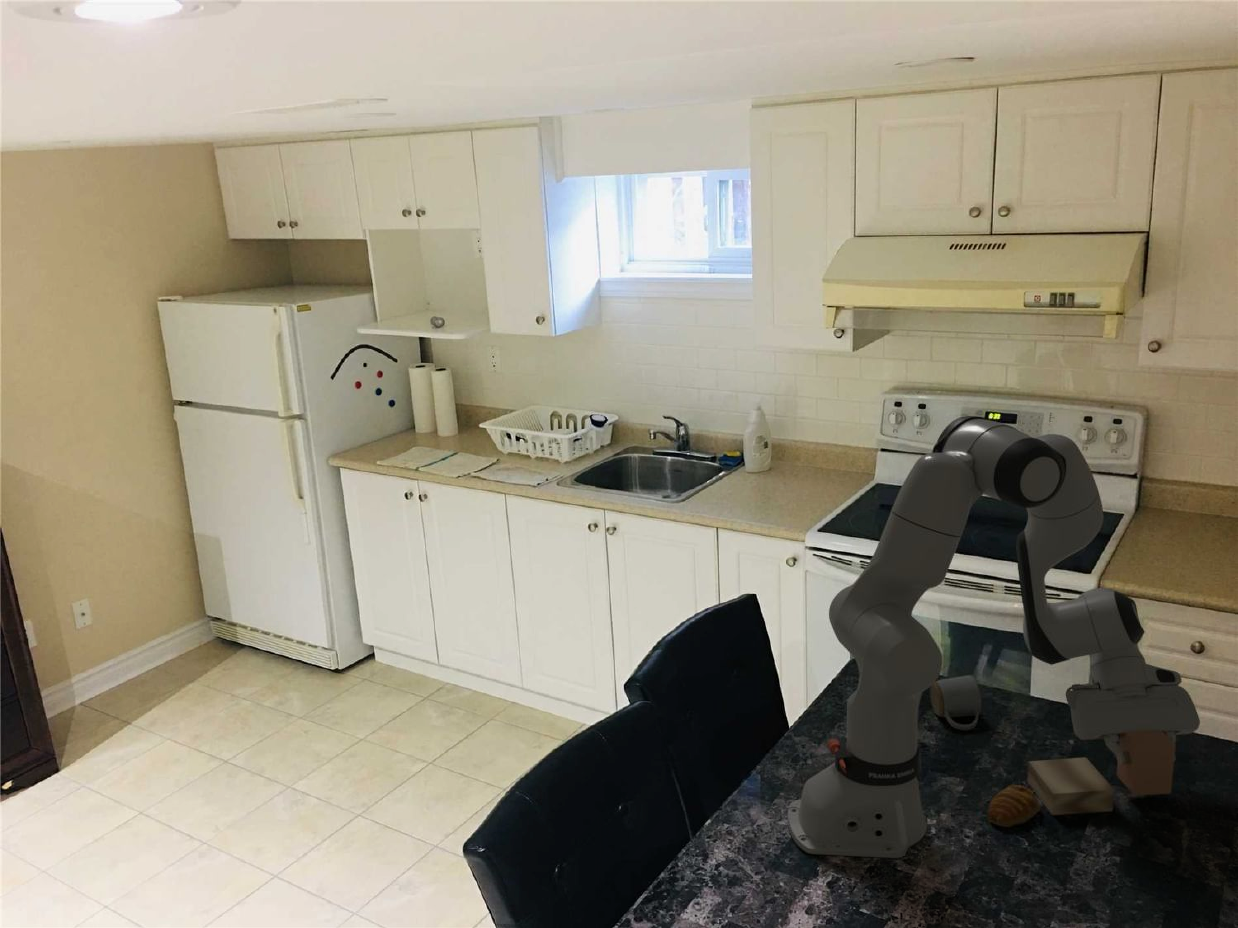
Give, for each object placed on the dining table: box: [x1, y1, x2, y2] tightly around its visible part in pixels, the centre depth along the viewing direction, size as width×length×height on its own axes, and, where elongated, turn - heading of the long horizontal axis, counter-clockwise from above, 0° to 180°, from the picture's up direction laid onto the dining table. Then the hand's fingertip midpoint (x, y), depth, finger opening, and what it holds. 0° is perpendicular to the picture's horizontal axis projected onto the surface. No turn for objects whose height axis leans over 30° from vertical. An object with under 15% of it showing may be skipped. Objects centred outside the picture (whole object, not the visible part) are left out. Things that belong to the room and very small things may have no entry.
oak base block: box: [1027, 756, 1115, 816], centre depth 175 cm, size 10×10×4 cm
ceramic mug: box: [929, 674, 982, 731], centre depth 202 cm, size 11×8×8 cm
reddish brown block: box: [1116, 730, 1177, 796], centre depth 172 cm, size 6×6×9 cm
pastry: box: [987, 784, 1042, 828], centre depth 172 cm, size 9×7×4 cm
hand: (1147, 762), depth 172 cm, fingers closed on reddish brown block, 6 cm apart
